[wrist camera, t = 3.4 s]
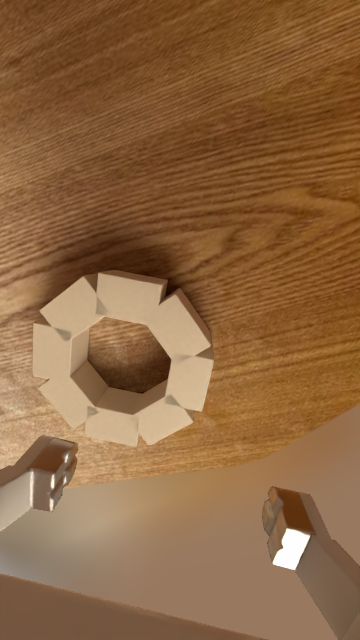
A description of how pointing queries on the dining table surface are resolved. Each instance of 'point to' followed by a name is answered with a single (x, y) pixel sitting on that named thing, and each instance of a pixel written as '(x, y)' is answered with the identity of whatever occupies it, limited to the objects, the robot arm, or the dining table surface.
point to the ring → (87, 385)
